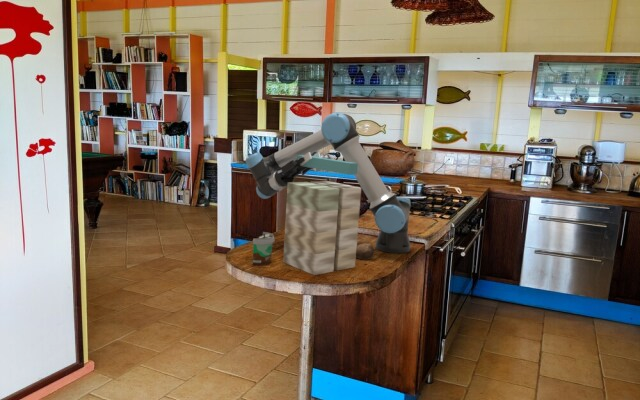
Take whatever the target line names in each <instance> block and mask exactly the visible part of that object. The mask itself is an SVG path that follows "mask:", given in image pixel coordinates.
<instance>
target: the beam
mask: <svg viewBox="0 0 640 400" xmlns="http://www.w3.org/2000/svg"><path fill="white" fill-rule="evenodd" d="M303 156H304V155H297V160H299V159H300V158H301V157H303ZM311 157H312V159H311V160H309V161H308V162H306V163H305V164H304V165H300V166H304V167H309V168H312V169H317V170H321V171H327V172H332V173H339V174H343V175H348V176H349V175H352V176H354V175H355V174H357V169H358V163H353V162H346V161H345V160H338V159H332V158H325V157H321V158H320V157H314V156H313V155H311Z"/></svg>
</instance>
